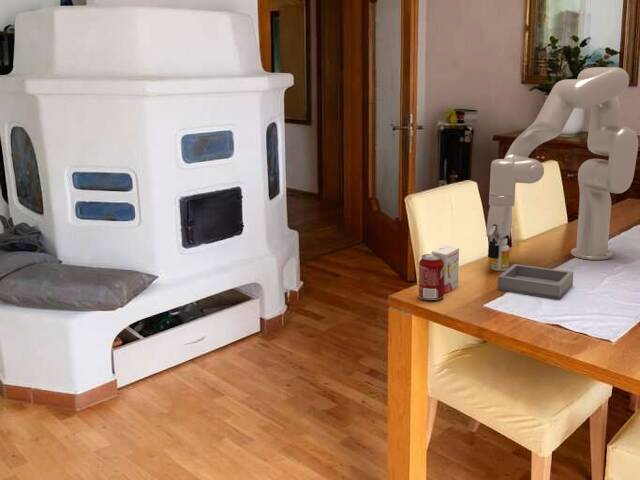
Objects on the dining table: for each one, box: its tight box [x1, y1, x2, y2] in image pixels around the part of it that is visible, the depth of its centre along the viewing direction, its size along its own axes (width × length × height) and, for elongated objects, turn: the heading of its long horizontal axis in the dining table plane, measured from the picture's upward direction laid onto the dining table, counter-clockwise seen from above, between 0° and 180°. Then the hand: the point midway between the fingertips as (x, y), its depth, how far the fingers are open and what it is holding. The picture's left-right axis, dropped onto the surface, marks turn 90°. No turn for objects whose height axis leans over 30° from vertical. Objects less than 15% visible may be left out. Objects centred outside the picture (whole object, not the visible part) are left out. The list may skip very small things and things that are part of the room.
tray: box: [497, 263, 574, 301], centre depth 187 cm, size 14×17×4 cm
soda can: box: [418, 253, 445, 301], centre depth 181 cm, size 7×7×12 cm
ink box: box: [430, 244, 460, 295], centre depth 188 cm, size 9×5×12 cm, turn 142°
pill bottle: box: [490, 237, 510, 272], centre depth 205 cm, size 5×5×10 cm
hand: (498, 254), depth 205 cm, fingers open, 9 cm apart
